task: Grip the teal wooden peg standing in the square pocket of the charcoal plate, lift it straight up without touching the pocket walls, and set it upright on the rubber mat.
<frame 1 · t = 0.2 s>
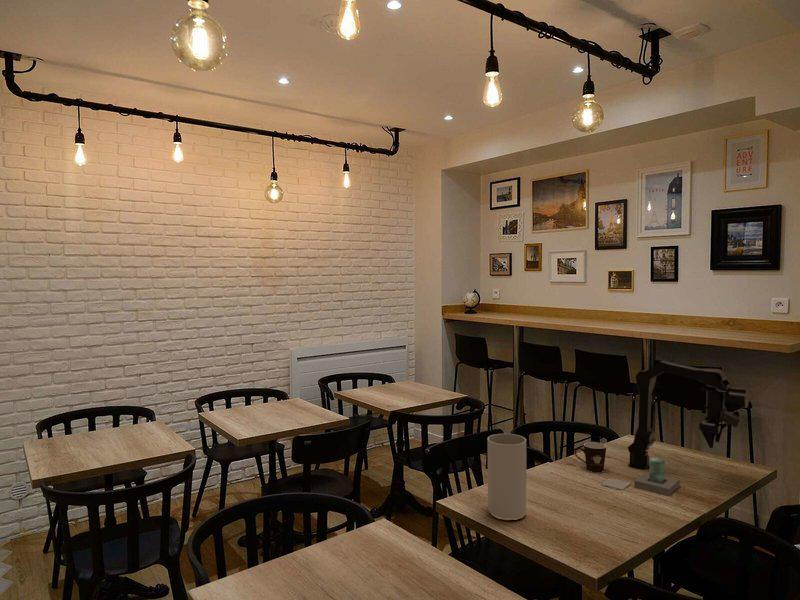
hand: (714, 445, 205), 14 cm above the table, tool pointing down, fingers open, 9 cm apart
peg: (657, 473, 202), in the pocket plate
cylinder vase: (507, 514, 181), on the table
pocket plate: (657, 486, 202), on the table
coffee mug: (591, 469, 222), on the table
mat: (616, 484, 205), on the table
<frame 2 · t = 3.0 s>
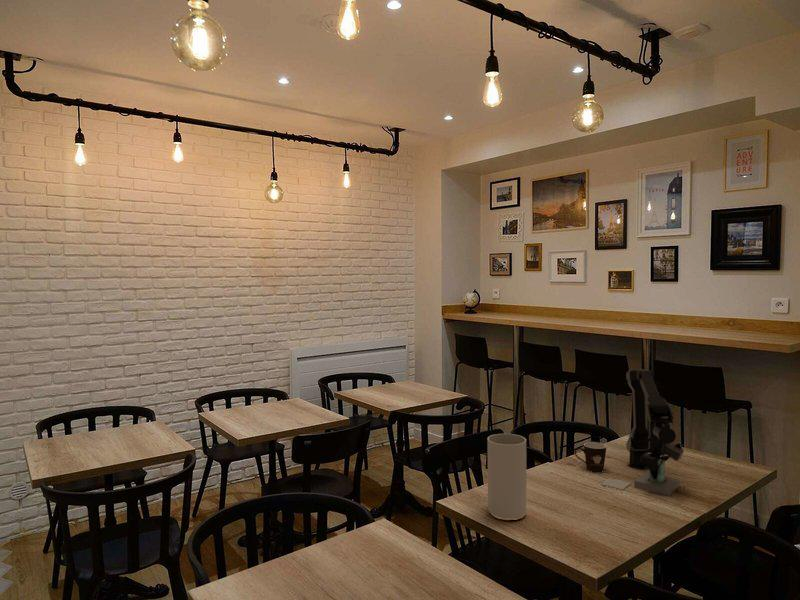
hand: (657, 477, 202), 4 cm above the table, tool pointing down, fingers closed on peg, 4 cm apart
peg: (657, 473, 202), in the pocket plate, touching gripper
everything else where it was.
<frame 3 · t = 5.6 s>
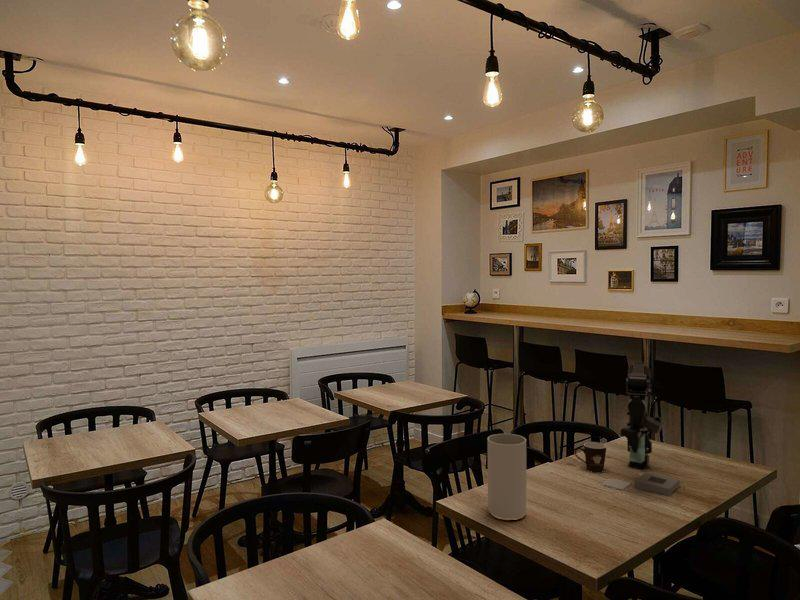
hand: (637, 451, 203), 13 cm above the table, tool pointing down, fingers closed on peg, 4 cm apart
peg: (637, 447, 203), point 15 cm above the table, touching gripper
everything else where it was.
when the fingers open (5 cm above the table, at t = 8.3 s): peg stays where it is, resting on mat.
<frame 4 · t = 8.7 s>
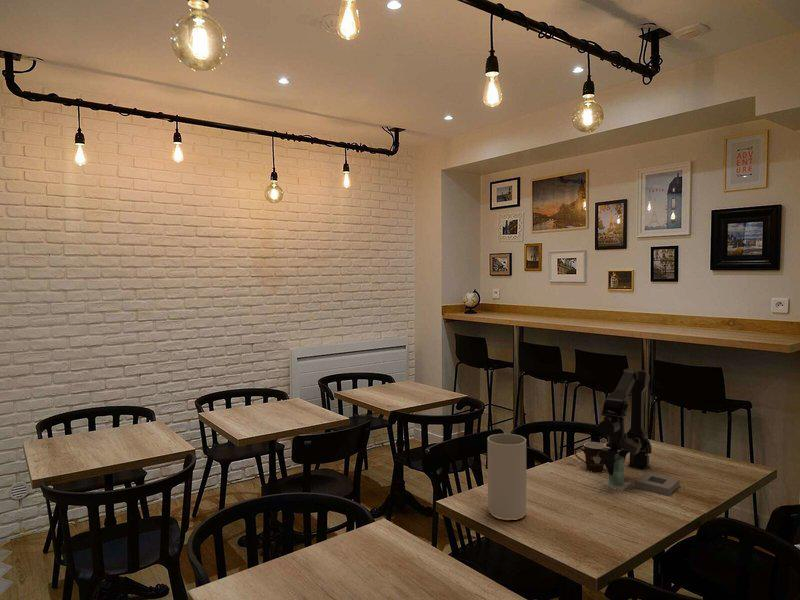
hand: (616, 471, 205), 5 cm above the table, tool pointing down, fingers open, 9 cm apart
peg: (616, 470, 205), on the mat
everything else where it was.
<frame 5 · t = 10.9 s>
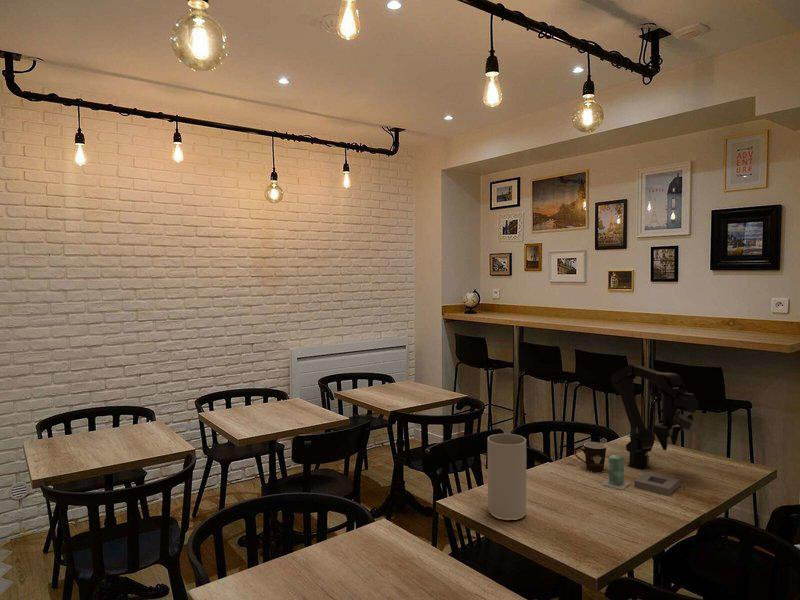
hand: (669, 447, 210), 12 cm above the table, tool pointing down, fingers open, 9 cm apart
nothing on the table moved.
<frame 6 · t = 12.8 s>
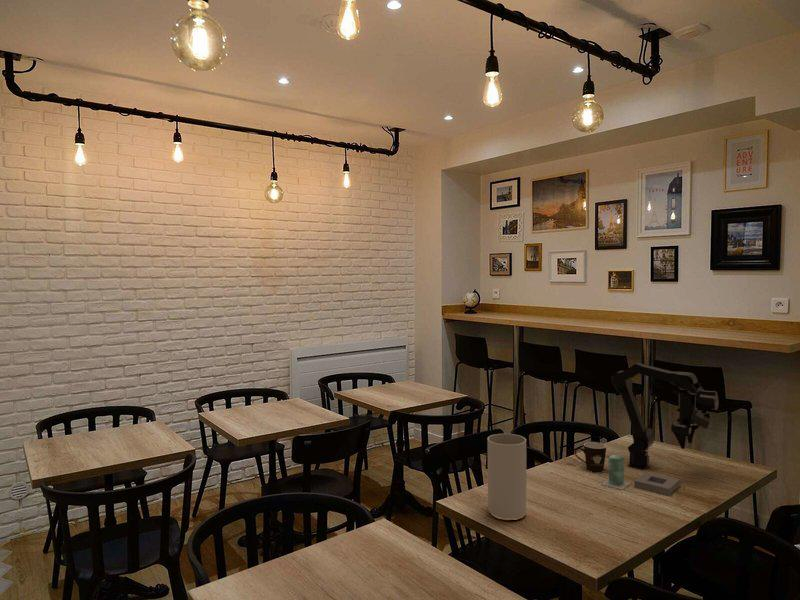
hand: (686, 445, 212), 12 cm above the table, tool pointing down, fingers open, 9 cm apart
nothing on the table moved.
at the end: peg 0.1 cm off-centre on the mat, point 5.5 cm above the mat's base; peg tilted 0°; the gripper is holding nothing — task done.
